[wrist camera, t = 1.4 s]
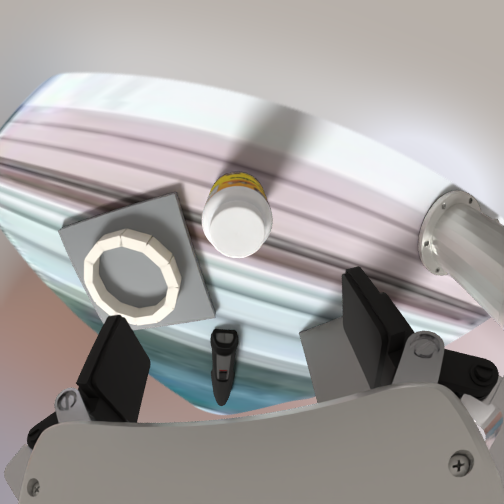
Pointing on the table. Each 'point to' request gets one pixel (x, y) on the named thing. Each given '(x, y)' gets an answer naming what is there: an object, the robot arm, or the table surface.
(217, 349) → the electric trimmer
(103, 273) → the collar
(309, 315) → the table surface
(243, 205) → the supplement bottle
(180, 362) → the table surface
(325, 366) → the perfume bottle
